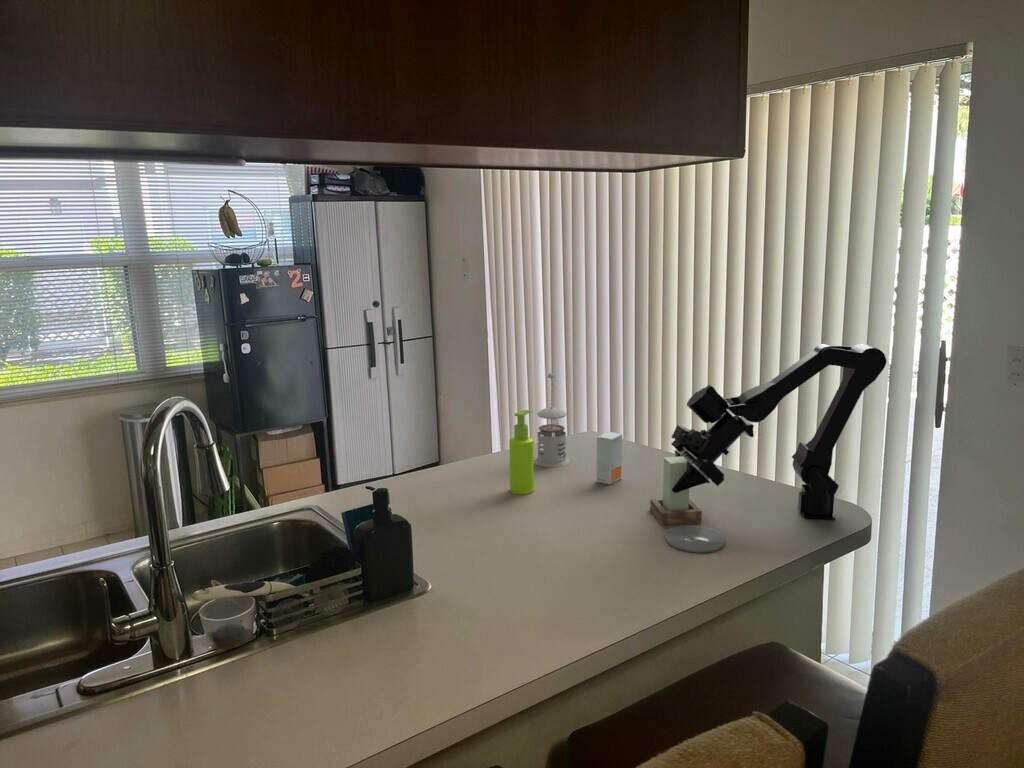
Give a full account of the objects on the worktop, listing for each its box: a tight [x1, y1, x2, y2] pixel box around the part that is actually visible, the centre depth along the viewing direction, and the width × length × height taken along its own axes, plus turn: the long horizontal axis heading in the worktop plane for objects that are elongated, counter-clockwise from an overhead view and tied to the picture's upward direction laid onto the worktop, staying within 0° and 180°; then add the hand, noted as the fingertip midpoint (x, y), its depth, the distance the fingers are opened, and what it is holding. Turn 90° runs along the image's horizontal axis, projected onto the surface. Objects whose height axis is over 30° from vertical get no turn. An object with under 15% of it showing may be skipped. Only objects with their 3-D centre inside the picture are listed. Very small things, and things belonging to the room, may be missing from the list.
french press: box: [534, 372, 571, 468], centre depth 200 cm, size 10×12×25 cm
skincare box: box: [595, 431, 623, 485], centre depth 184 cm, size 6×4×12 cm
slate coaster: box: [664, 525, 726, 554], centre depth 149 cm, size 12×12×1 cm
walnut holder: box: [649, 497, 703, 525], centre depth 162 cm, size 9×9×2 cm
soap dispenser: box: [508, 409, 535, 496], centre depth 178 cm, size 6×7×20 cm
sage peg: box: [662, 456, 690, 511], centre depth 161 cm, size 4×4×13 cm
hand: (669, 487), depth 161 cm, fingers closed on sage peg, 4 cm apart
